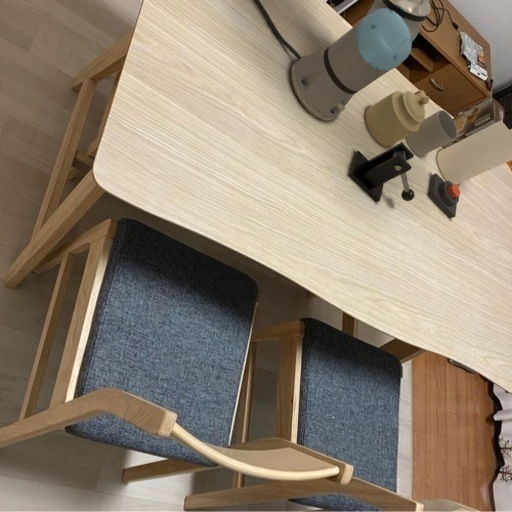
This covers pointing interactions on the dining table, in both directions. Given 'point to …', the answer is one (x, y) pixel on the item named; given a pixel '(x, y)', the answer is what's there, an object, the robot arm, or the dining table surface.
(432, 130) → the cup
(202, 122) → the dining table surface
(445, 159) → the tall pillar cylinder
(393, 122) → the sugar bowl
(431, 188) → the button block
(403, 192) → the lever
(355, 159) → the bracket
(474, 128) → the coffee box
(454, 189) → the button
